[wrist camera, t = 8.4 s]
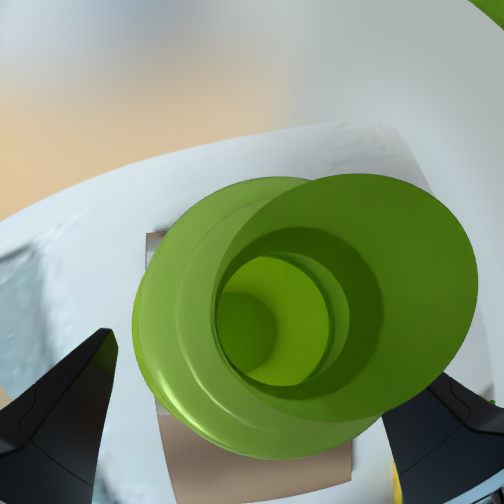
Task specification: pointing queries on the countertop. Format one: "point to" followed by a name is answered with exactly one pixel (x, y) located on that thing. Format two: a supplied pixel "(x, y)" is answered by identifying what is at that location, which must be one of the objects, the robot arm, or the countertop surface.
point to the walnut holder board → (238, 461)
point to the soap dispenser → (303, 307)
